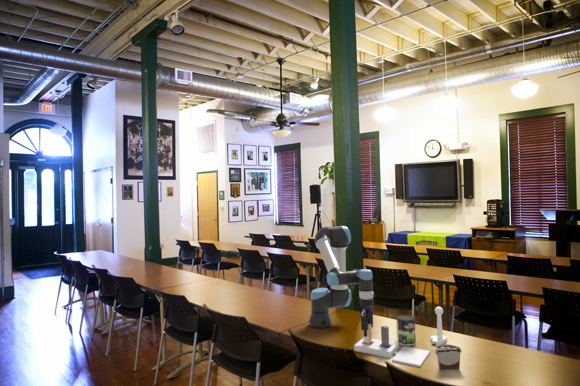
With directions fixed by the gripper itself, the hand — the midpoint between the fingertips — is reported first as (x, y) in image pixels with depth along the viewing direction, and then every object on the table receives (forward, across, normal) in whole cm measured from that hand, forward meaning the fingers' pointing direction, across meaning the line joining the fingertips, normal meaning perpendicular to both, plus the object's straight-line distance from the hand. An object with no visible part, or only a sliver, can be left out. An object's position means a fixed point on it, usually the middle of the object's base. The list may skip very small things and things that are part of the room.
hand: (367, 340), depth 213 cm
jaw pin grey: (+4, 0, -10) cm, 11 cm away
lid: (+4, -1, -23) cm, 23 cm away
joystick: (+4, +27, -31) cm, 41 cm away
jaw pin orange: (+4, 0, 0) cm, 4 cm away
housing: (+4, 0, -5) cm, 6 cm away
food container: (+5, -5, -42) cm, 42 cm away
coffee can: (+4, +18, -16) cm, 24 cm away
